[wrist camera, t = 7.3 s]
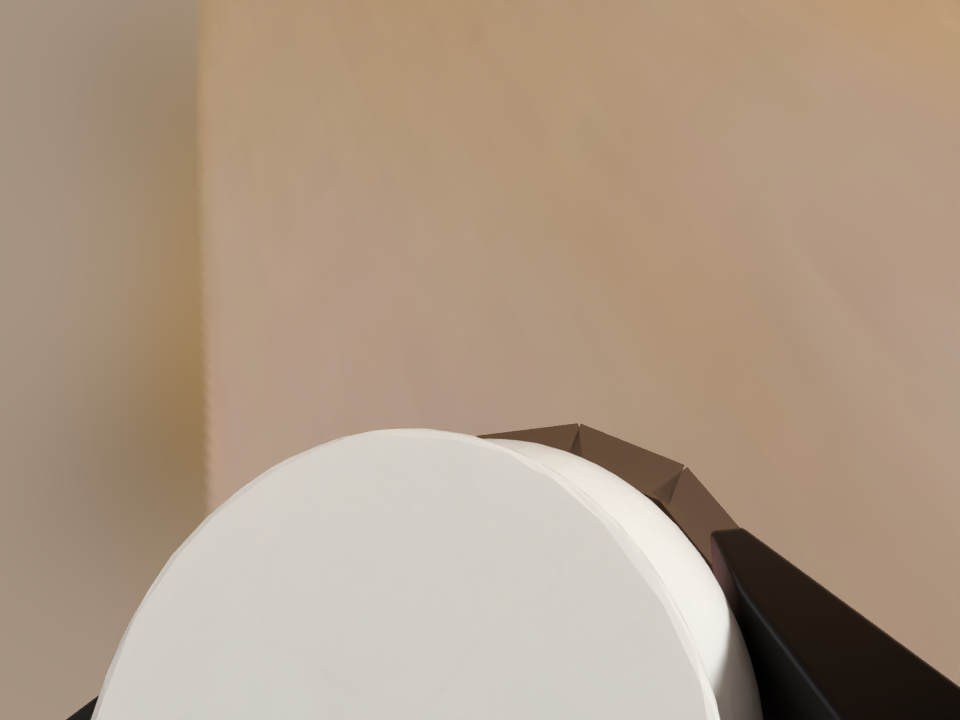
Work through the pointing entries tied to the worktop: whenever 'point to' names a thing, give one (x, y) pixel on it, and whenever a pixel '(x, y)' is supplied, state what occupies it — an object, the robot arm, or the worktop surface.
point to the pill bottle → (433, 596)
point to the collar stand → (641, 478)
